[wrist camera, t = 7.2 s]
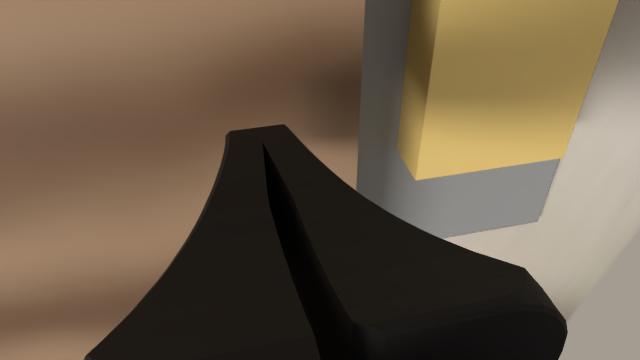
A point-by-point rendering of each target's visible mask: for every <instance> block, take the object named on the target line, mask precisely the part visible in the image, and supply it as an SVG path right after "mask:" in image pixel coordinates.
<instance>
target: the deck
mask: <svg viewBox="0 0 640 360" xmlns="http://www.w3.org/2000/svg"><path fill="white" fill-rule="evenodd" d="M364 15H365V0H0V360H84V358H85V356H86V355H87V354H88V353H89V352H90V351H91V350H92V349H93V348H94V347H96V346H97V345H98V344H99V343H100V342H101V341H102V340H103V339H104V338H105V337H106V336H107V335H108V334H109V333H110V332H111V331H112V330H113V329H114V328H115V327H116V326H117V325H118V324H119V323H120V322H121V321H122V320H123V319H124V318H125V317H126V316H127V315H128V314H129V313H130V312H131V311H132V310H133V309H134V308H135V306H136V305H137V304H138V303H139V302H140V301H141V299H142V298H143V297H144V296H145V295H146V294H147V292H148V291H149V290H150V289H151V288H152V286H153V285H154V284H155V283H156V282H157V281H158V279H159V278H160V277H161V276H162V274H163V273H164V272H165V270H166V269H167V268H168V266H169V265H170V263H171V262H172V260H173V259H174V257H175V256H176V255H177V253H178V252H179V250H180V249H181V247H182V246H183V244H184V243H185V241H186V239H187V238H188V236H189V234H190V233H191V231H192V229H193V227H194V226H195V224H196V222H197V220H198V218H199V216H200V214H201V212H202V210H203V208H204V206H205V204H206V201H207V199H208V197H209V195H210V192H211V190H212V188H213V185H214V182H215V180H216V177H217V174H218V171H219V168H220V165H221V161H222V157H223V153H224V148H225V136H226V135H227V134H228V132H229V131H233V130H241V129H249V128H257V127H265V126H272V125H280V124H285V125H286V126H287V127H288V128H289V129H290V130H291V131H292V132H293V133H294V134H295V135H296V136H297V138H298V139H299V140H300V141H301V142H302V143H303V144H304V145H305V146H306V147H307V148H308V149H309V150H310V151H311V152H312V153H313V154H314V155H315V156H316V157H317V158H318V159H319V160H320V161H321V162H323V163H324V164H325V165H326V166H327V167H328V168H329V169H330V170H331V171H332V172H334V173H335V174H336V175H337V176H338V177H340V178H341V179H342V180H343V181H344V182H346V183H347V184H348V185H349V186H351V187H352V188H353V189H355V190H356V184H357V163H358V142H359V120H360V99H361V78H362V57H363V36H364Z"/></svg>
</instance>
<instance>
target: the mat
mask: <svg viewBox="0 0 640 360" xmlns="http://www.w3.org/2000/svg"><path fill="white" fill-rule="evenodd" d="M411 9H412V0H365V15H364V36H363V57H362V78H361V99H360V120H359V142H358V163H357V184H356V191H357V192H359V193H360V194H361V195H363V196H364V197H366V198H367V199H369V200H370V201H372V202H373V203H375V204H377V205H378V206H380V207H381V208H383V209H384V210H386V211H388V212H389V213H391V214H393V215H395V216H396V217H398V218H400V219H402V220H404V221H406V222H408V223H410V224H412V225H414V226H416V227H418V228H419V229H421V230H423V231H425V232H428V233H430V234H432V235H434V236H437V237H439V238H441V239H442V238H448V237H453V236H459V235H465V234H470V233H476V232H482V231H487V230H493V229H499V228H505V227H510V226H516V225H522V224H527V223H533V222H538V219H539V216H540V214H541V211H542V208H543V205H544V202H545V199H546V196H547V193H548V191H549V188H550V185H551V182H552V179H553V176H554V173H555V170H556V168H557V165H558V162H559V159H560V158H559V159H553V160H546V161H540V162H533V163H527V164H520V165H514V166H507V167H501V168H494V169H488V170H481V171H475V172H468V173H461V174H455V175H448V176H442V177H435V178H429V179H422V180H415V179H414V177H413V175H412V174H411V172H410V171H409V169H408V167H407V166H406V164H405V162H404V161H403V159H402V158H401V156H400V154H399V153H398V151H397V143H398V134H399V124H400V115H401V105H402V95H403V86H404V76H405V67H406V57H407V48H408V38H409V29H410V19H411Z"/></svg>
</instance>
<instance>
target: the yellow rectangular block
mask: <svg viewBox="0 0 640 360" xmlns="http://www.w3.org/2000/svg"><path fill="white" fill-rule="evenodd" d="M618 2H619V0H412V9H411V19H410V29H409V38H408V48H407V57H406V67H405V76H404V86H403V95H402V105H401V115H400V124H399V134H398V143H397V151H398V153H399V154H400V156H401V158H402V159H403V161H404V162H405V164H406V166H407V167H408V169H409V171H410V172H411V174H412V175H413V177H414V179H415V180H422V179H429V178H435V177H442V176H448V175H455V174H461V173H468V172H475V171H481V170H488V169H494V168H501V167H507V166H514V165H520V164H527V163H533V162H540V161H546V160H553V159H559V158H563V157H564V154H565V151H566V149H567V146H568V143H569V140H570V137H571V135H572V132H573V129H574V126H575V123H576V120H577V118H578V115H579V112H580V109H581V106H582V103H583V101H584V98H585V95H586V92H587V89H588V86H589V84H590V81H591V78H592V75H593V72H594V69H595V67H596V64H597V61H598V58H599V55H600V52H601V50H602V47H603V44H604V41H605V38H606V35H607V33H608V30H609V27H610V24H611V21H612V19H613V16H614V13H615V10H616V7H617V4H618Z"/></svg>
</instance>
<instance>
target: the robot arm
mask: <svg viewBox="0 0 640 360" xmlns="http://www.w3.org/2000/svg"><path fill="white" fill-rule="evenodd" d="M567 332H568V331H567V325H566V320H565V319H564V317H563V316H562V315H561V313H560V312H559V311H558V309H557V308H556V307H555V305H554V304H553V303H552V301H551V300H550V298H549V297H548V295H547V294H546V293H545V291H544V290H543V289H542V287H541V286H540V285H539V284H538V283H537V282H536V281H535V279H534V278H533V277H532V276H531V275H530V274H529V273H528V271H527V270H526V269H525V268H523V267H520V266H517V265H514V264H510V263H507V262H504V261H501V260H498V259H495V258H492V257H489V256H486V255H482V254H479V253H476V252H473V251H471V250H468V249H466V248H463V247H461V246H458V245H456V244H453V243H451V242H448V241H446V240H443V239H441V238H439V237H437V236H434V235H432V234H430V233H428V232H425V231H423V230H421V229H419V228H418V227H416V226H414V225H412V224H410V223H408V222H406V221H404V220H402V219H400V218H398V217H396V216H395V215H393V214H391V213H389V212H388V211H386V210H384V209H383V208H381V207H380V206H378V205H377V204H375V203H373V202H372V201H370V200H369V199H367V198H366V197H364V196H363V195H361V194H360V193H359V192H357V191H356V190H355V189H353V188H352V187H351V186H349V185H348V184H347V183H346V182H344V181H343V180H342V179H341V178H340V177H338V176H337V175H336V174H335V173H334V172H332V171H331V170H330V169H329V168H328V167H327V166H326V165H325V164H324V163H323V162H321V161H320V160H319V159H318V158H317V157H316V156H315V155H314V154H313V153H312V152H311V151H310V150H309V149H308V148H307V147H306V146H305V145H304V144H303V143H302V142H301V141H300V140H299V139H298V138H297V136H296V135H295V134H294V133H293V132H292V131H291V130H290V129H289V128H288V127H287V126H286V125H285V124H280V125H272V126H265V127H257V128H249V129H241V130H233V131H229V132H228V134H227V135H226V136H225V148H224V153H223V157H222V161H221V165H220V168H219V171H218V174H217V177H216V180H215V182H214V185H213V188H212V190H211V192H210V195H209V197H208V199H207V201H206V204H205V206H204V208H203V210H202V212H201V214H200V216H199V218H198V220H197V222H196V224H195V226H194V227H193V229H192V231H191V233H190V234H189V236H188V238H187V239H186V241H185V243H184V244H183V246H182V247H181V249H180V250H179V252H178V253H177V255H176V256H175V257H174V259H173V260H172V262H171V263H170V265H169V266H168V268H167V269H166V270H165V272H164V273H163V274H162V276H161V277H160V278H159V279H158V281H157V282H156V283H155V284H154V285H153V286H152V288H151V289H150V290H149V291H148V292H147V294H146V295H145V296H144V297H143V298H142V299H141V301H140V302H139V303H138V304H137V305H136V306H135V308H134V309H133V310H132V311H131V312H130V313H129V314H128V315H127V316H126V317H125V318H124V319H123V320H122V321H121V322H120V323H119V324H118V325H117V326H116V327H115V328H114V329H113V330H112V331H111V332H110V333H109V334H108V335H107V336H106V337H105V338H104V339H103V340H102V341H101V342H100V343H99V344H98V345H97V346H96V347H94V348H93V349H92V350H91V351H90V352H89V353H88V354H87V355H86V356H85V358H84V360H558V359H559V356H560V354H561V352H562V350H563V347H564V344H565V340H566V337H567Z"/></svg>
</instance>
